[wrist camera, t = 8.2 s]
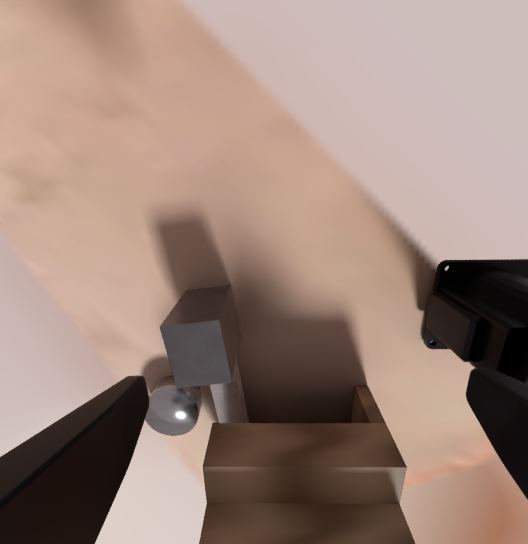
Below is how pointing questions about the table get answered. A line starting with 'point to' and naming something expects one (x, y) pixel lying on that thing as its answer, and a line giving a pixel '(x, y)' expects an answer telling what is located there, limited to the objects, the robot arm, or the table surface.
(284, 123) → the table surface
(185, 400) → the steel token
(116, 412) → the robot arm
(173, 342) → the grey mallet
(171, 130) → the table surface
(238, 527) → the plinth cabinet
